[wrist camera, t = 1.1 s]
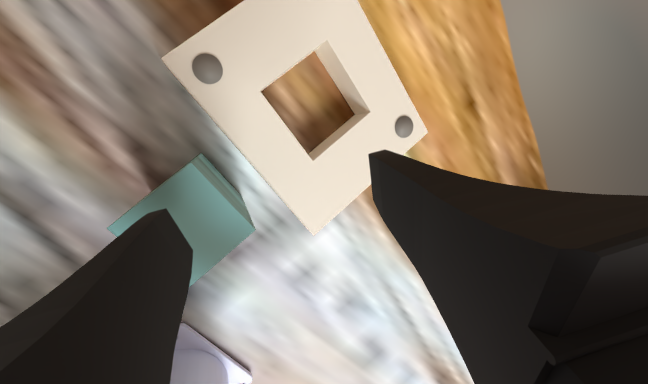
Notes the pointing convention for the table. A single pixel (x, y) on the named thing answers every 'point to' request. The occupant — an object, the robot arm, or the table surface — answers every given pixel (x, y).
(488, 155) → the table surface
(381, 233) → the table surface
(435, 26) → the table surface
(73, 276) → the robot arm
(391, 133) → the white square hole board
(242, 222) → the pin
